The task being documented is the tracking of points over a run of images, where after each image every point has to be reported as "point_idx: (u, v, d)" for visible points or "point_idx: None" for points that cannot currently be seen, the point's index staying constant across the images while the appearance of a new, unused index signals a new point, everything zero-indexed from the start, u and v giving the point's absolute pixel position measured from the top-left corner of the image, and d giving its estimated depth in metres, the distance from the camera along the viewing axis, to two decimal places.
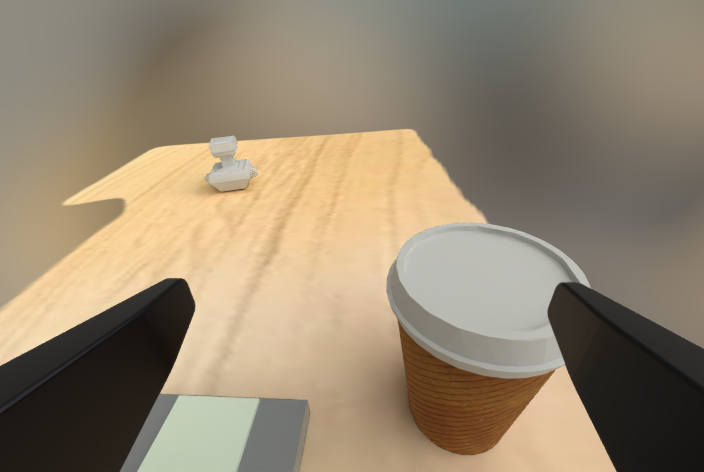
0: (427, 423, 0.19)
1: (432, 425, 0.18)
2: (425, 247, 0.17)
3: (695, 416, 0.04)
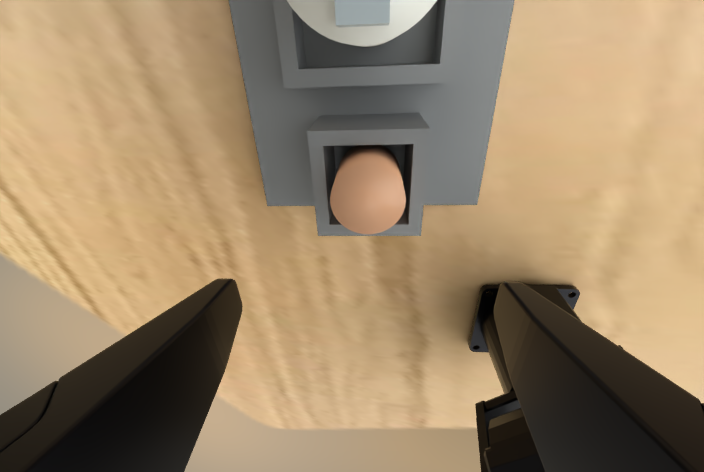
0: None
1: None
2: None
3: (598, 413, 0.04)
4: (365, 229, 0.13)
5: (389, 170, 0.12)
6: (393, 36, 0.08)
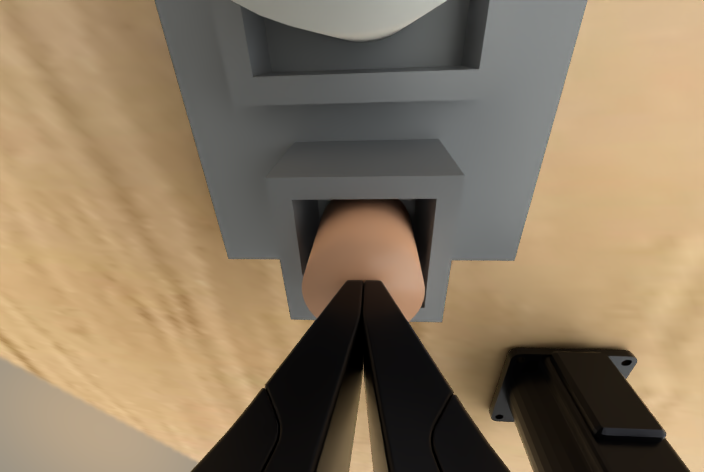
0: None
1: None
2: None
3: (372, 404, 0.05)
4: None
5: (398, 248, 0.07)
6: (424, 8, 0.03)
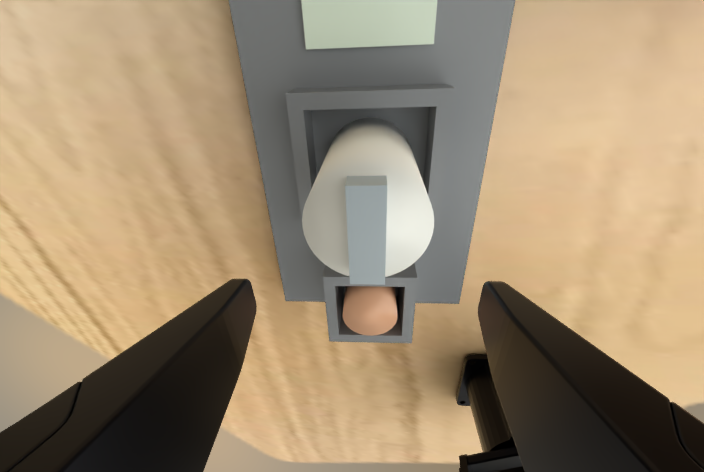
0: None
1: None
2: None
3: (570, 411, 0.04)
4: (368, 332, 0.18)
5: (385, 298, 0.17)
6: (387, 275, 0.12)
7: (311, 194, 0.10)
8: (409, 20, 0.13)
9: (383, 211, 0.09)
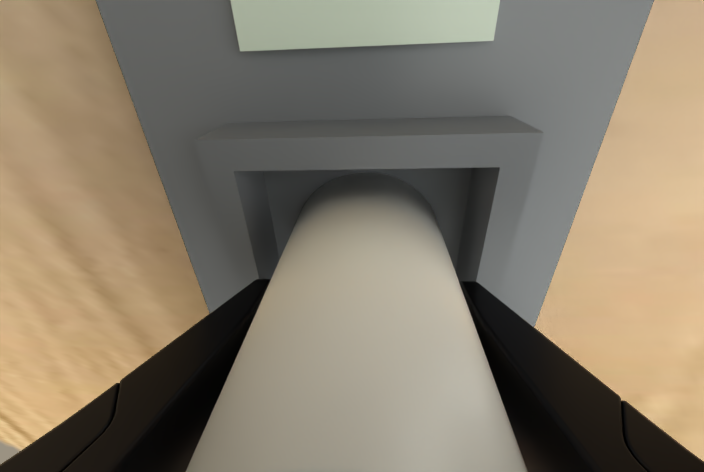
0: None
1: None
2: None
3: (526, 410, 0.04)
4: None
5: None
6: None
7: None
8: None
9: None
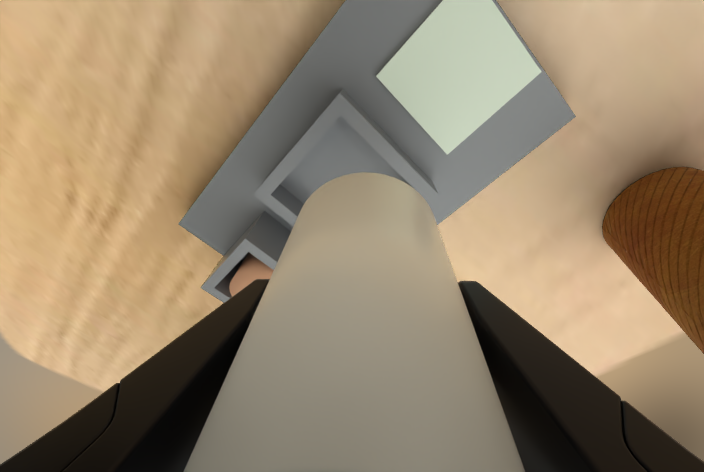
0: (622, 227, 0.19)
1: (623, 237, 0.19)
2: None
3: (526, 410, 0.04)
4: None
5: None
6: None
7: None
8: (447, 128, 0.17)
9: None
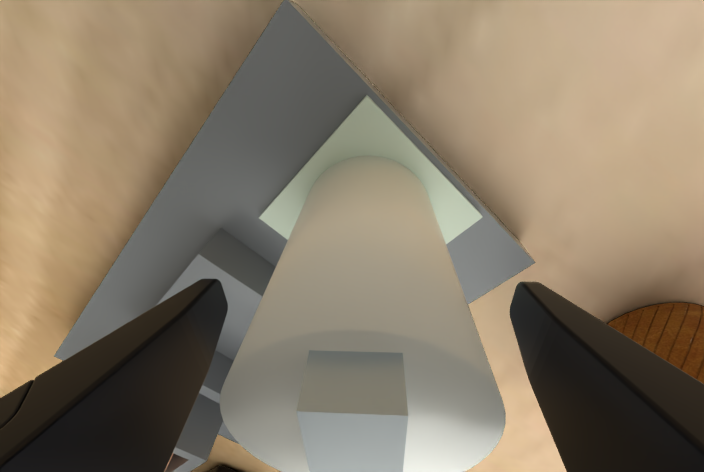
0: None
1: None
2: None
3: (627, 414, 0.04)
4: None
5: None
6: None
7: (232, 375, 0.04)
8: None
9: (394, 454, 0.04)
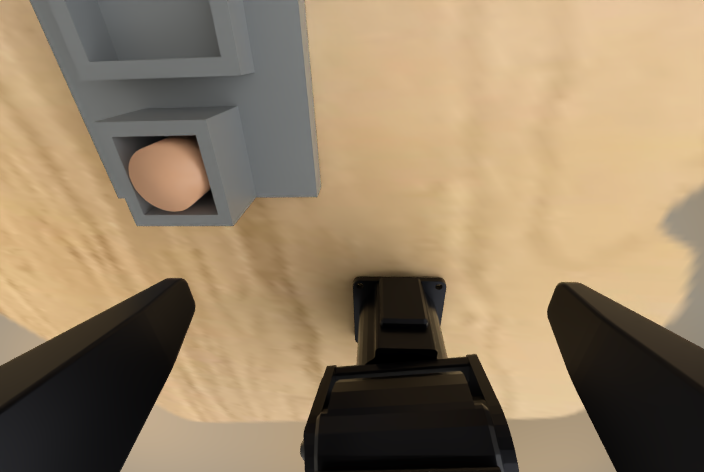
0: None
1: None
2: None
3: (695, 416, 0.04)
4: (170, 206, 0.14)
5: (174, 151, 0.13)
6: None
7: None
8: None
9: None
